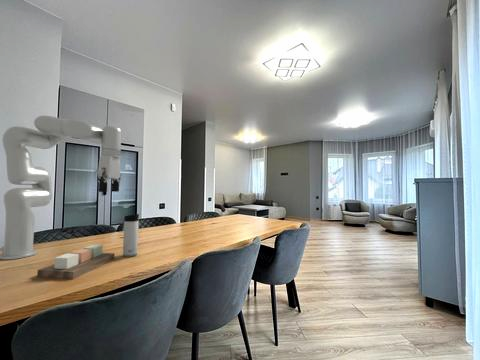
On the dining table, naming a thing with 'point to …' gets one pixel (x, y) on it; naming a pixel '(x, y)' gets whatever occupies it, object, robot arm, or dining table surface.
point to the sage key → (95, 250)
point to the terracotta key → (83, 255)
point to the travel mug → (130, 235)
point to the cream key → (66, 261)
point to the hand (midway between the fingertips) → (109, 191)
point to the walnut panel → (75, 268)
